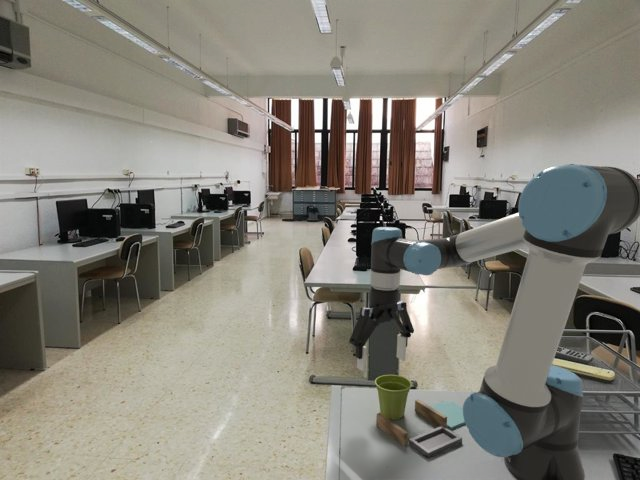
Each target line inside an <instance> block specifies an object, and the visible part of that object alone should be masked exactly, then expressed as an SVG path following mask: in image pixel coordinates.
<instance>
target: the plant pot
mask: <svg viewBox="0 0 640 480" xmlns="http://www.w3.org/2000/svg"><path fill="white" fill-rule="evenodd" d="M374 384H375V386H376V390H377V393H378V395H377V396H378V402H379V411H380V412H379V413H381V414H382V415H384V416H385V417H387V418H388V419H389V420H400V419H401V418H402V417H404V416H405V413H406V405H407V402H408V396H409V393H410V389H411V388H412V386H413V384H412V382H411V380H410V379H408V378H407V377H405V376H401V375H397V374H384V375H380V376H378V377H376V379H374Z"/></svg>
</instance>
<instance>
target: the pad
mask: <svg viewBox="0 0 640 480" xmlns="http://www.w3.org/2000/svg"><path fill="white" fill-rule="evenodd" d="M429 406H430V407H432V408H433V409H435V410H437V411H438V412H440V413H442V414H443V415H445V416H447V429H449V430H451V431H452V430H453V429H456V428H458V427H461V426H464V425H466V424H465V421H464V417H463V406H460V405H459V404H457V403H455V402H453V401H441V402H437V403H434V404H431V405H429Z"/></svg>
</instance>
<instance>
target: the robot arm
mask: <svg viewBox="0 0 640 480" xmlns="http://www.w3.org/2000/svg"><path fill="white" fill-rule="evenodd" d="M639 218H640V181H639V180H638V179H637V178H636V177H635V176H634V175H633V174H631V173H630V172H628V171H627V170H624V169H621V168H619V167H613V166H597V165H596V166H595V165H584V164H574V163H569V164H564V165H563V164H562V165H556V166H551V167H548V168H546V169H544V170H542V171H540V172H539V173H537V174H536V175H534V176H533V177H532V178H531V179H530V180H529V181H528V182H527V183H526V185H525V186H524V188H523V189H522V192H521V194H520V196H519V200H518V212H516V213H513V214H510V215H507V216H505V217H502V218H500V219H497V220H493V221H491V222H487V223H485V224H483V225H479V226H476V227H474V228H471V229H468V230H465V231H463V232H460V233H457V234H455V235H451V236H449V237H448V236H447V237H443V238H442V237H441V238H428V239H416V240H415V239H414V240H413V239H410V238H409V239H408V238H403V232H402V229H400V228H398V227H393V226H386V227H385V226H379V227H375V228H374V229H373V230H372V234H371V236H372V237H371V243H370V245H371V251H370V253H371V256H370V283H369V284H370V285H371V286H370V288H369V290H370V291H369V300H370V307H364V306H361V307H360V310H359V311H360V312H359V316H358V318H357V321H356V323H355V326H354V328H353V331H352V333H351V336H350V338H349V341H348V343H349V344H350V345H352V346H354V347H355V358H356V359H357V361H356V368H357V369H359V370H360V371H361V372H363V373H364V372H366V371H367V370H366V369H367V346H365V345H366V344H367V342H368V340H369V339H370V337H371V336H372V334H373V333H374V331H375V329H376V328H377V327H378V326H379V325H380V324H383V323H385V322H387V323H388V322H391V323H392V324H393V325H394V327H395V329H396V330H397V332H398V333H399V334H397V336H396V337H397V338H396V339H397V342H396V358H397V359H399V360H401V361H402V362H403V361H406V352H407V347H408V341H409V340H408V339H409V338H411V337H412V334H414V332H415V329H414V326H413V323H412V321H411V318H410V316H409V312H408V308H407V302H405V301H402V300H400V289H399V287H400V283H401V270H403V271H406V272H409V273H412V274H414V275H421V276H431V275H433V274H434V273H435V272H437V270H441V269H449V268H460V267H465V266H468V265H470V264H472V263H474V262H478V261H480V260H484V259H488V258H492V257H495V256H499V255H503V254H506V253H510V252H514V251H518V250H521V249H525V248H528V250H529V252H528V254H527V257H526V261H525V265H524V268H523V273H522V275H521V279H520V283H519V285H518V289H517V293H516V296H515V300H514V303H513V307H512V310H511V313H510V315H509V320H508V323H507V327H506V330H505V333H504V337H503V340H502V344H501V347H500V352H499V355H498V357H497V361H496V364H495V365H493V366H489V367H488V368H487V369H486V370H485V371H484V374H483V378H482V382H481V384H480V388H479V390H478V392H473V393H471V394H470V395H468V396H467V397H466V399H465V400H464V402H463V406H462V407H463V417H464V421H465V424H464V425H465V426H466V428H467V429H468V433H469V434H470V436H471V437H472V439H473V441H474V442H475V443H477V445H478V446H479V447H480V448H481V449H482V450H484V451H485V452H487V453H488V454H489V455H492V456H494V457H497V458H503V461H504V465H505V467H506V468H507V470H508V471H509V472H510V473H511V474H512V475H513V476H514V477H515V478H517V479H518V480H586V479H585V478H586V476H585V475H586V474H585V469H584V466H583V462H582V460H581V455H580V451H579V446H578V444H579V431H580V425H581V424H580V423H581V413H582V405H583V398H584V394H583V390H584V389H583V387H584V386H583V381H582V379H581V378H580V377H579V376H578V375H577V374H576V373H574V372H572V371H570V370H569V369H565V368H563V367H560V366H559V365H554V364H553V363H554V360H555V358H556V354H557V350H558V348H559V346H560V345H559V344H560V342H561V340H562V339H561V338H562V337H563V334H564V331H565V327H566V325H567V321H568V319H569V316H570V312H571V310H572V307H573V304H574V301H575V299H576V297H577V296H576V295H577V294H578V293H577V292H578V289H579V288H580V287H579V286H580V283H581V281H582V277H583V276H584V275H583V274H584V272H585V269H586V266H587V264H589V263H592V262H594V261H596V260H599V259H600V258H601V256H602V253H603V250H604V248H605V245H606V242H607V239H608V236H609V235H612V234H613V235H614V234H617V233H619V232H623V231H625V230H626V229H627V228H629V227H631V226H632V225H633V224H635V223H636V221H637V220H638V219H639ZM397 312H398V314H399V315H397Z"/></svg>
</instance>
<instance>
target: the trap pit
mask: <svg viewBox="0 0 640 480" xmlns="http://www.w3.org/2000/svg"><path fill="white" fill-rule="evenodd" d="M462 443H463V437H462V436H460V435H458V434H457V433H455V432H454V431H452V430H451V429H449V428H448V427H447V428H446V427H444V426H443V425H442V426H440V427H439V426H437V427H436V428H433V429H430V430H428V431H425V432H423V433H421V434H418V435H416V436H414V437H411V438H408V445H410V446H411V447H412V448H414V449H415V450H416V451H418V452H419V453H420V454H422V455H423V456H424V457H426V458H427V459H428V458H431V457H433V456H435V455H438V454H440V453H443V452H444V451H447V450H449V449H451V448H453V447H455V446H457V445H460V444H462Z"/></svg>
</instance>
